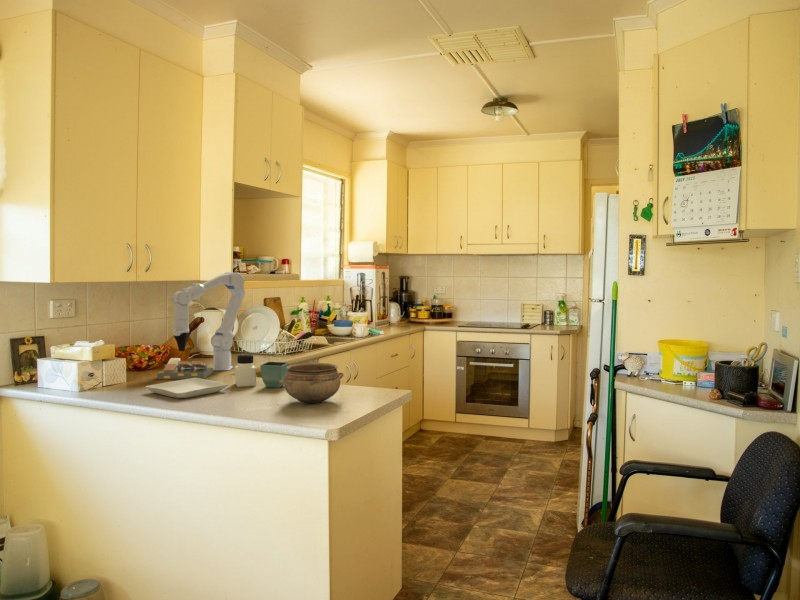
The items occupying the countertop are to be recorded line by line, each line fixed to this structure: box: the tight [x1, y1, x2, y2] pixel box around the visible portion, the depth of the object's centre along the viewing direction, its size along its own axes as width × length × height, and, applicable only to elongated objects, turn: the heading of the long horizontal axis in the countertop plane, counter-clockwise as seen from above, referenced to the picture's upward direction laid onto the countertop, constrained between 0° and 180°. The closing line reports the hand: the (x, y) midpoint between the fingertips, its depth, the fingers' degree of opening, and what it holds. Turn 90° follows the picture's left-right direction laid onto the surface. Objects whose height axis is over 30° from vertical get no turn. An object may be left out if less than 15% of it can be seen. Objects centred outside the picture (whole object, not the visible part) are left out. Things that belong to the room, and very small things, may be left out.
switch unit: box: [156, 364, 214, 380], centre depth 263 cm, size 14×19×5 cm
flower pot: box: [259, 361, 290, 389], centre depth 240 cm, size 9×9×9 cm
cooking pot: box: [279, 362, 344, 405], centre depth 212 cm, size 25×19×12 cm
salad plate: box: [145, 378, 228, 399], centre depth 228 cm, size 21×21×3 cm
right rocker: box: [190, 360, 207, 368], centre depth 263 cm, size 10×4×1 cm, turn 3°
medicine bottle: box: [234, 353, 257, 388], centre depth 243 cm, size 7×7×12 cm
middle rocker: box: [178, 360, 192, 368], centre depth 263 cm, size 10×4×1 cm, turn 2°
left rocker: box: [163, 357, 182, 372], centre depth 262 cm, size 10×4×1 cm, turn 3°
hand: (182, 351), depth 267 cm, fingers closed
